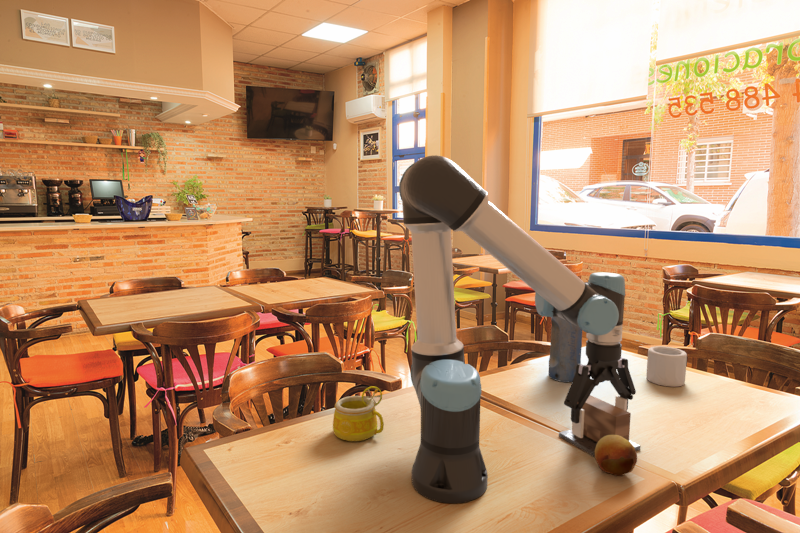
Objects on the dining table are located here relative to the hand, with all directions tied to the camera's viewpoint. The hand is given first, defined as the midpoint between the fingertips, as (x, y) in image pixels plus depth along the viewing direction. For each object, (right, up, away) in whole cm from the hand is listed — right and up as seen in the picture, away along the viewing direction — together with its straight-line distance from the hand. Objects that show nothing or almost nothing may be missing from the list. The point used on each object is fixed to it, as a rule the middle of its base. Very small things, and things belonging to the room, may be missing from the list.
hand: (599, 429), depth 116 cm
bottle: (+7, +2, +44) cm, 45 cm away
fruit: (-2, -5, -13) cm, 14 cm away
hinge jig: (0, -3, 0) cm, 3 cm away
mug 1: (-56, -3, +4) cm, 57 cm away
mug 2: (+37, +2, +42) cm, 57 cm away
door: (0, -2, 0) cm, 2 cm away
